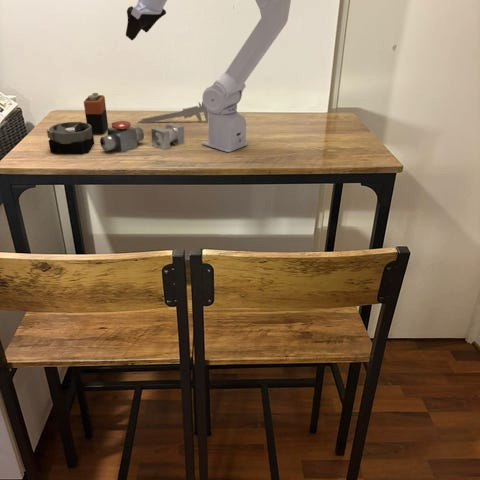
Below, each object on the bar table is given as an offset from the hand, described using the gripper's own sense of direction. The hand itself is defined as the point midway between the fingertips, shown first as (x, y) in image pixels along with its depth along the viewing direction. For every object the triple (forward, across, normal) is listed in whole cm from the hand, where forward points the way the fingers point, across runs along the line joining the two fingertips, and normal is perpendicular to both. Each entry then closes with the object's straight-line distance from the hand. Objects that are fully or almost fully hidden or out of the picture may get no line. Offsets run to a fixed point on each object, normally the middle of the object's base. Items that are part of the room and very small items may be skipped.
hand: (136, 33), depth 126 cm
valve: (+17, +19, +16) cm, 30 cm away
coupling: (+12, +13, +24) cm, 30 cm away
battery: (+26, +10, +5) cm, 28 cm away
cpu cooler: (+23, +24, +6) cm, 34 cm away
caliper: (+19, -5, +19) cm, 27 cm away
